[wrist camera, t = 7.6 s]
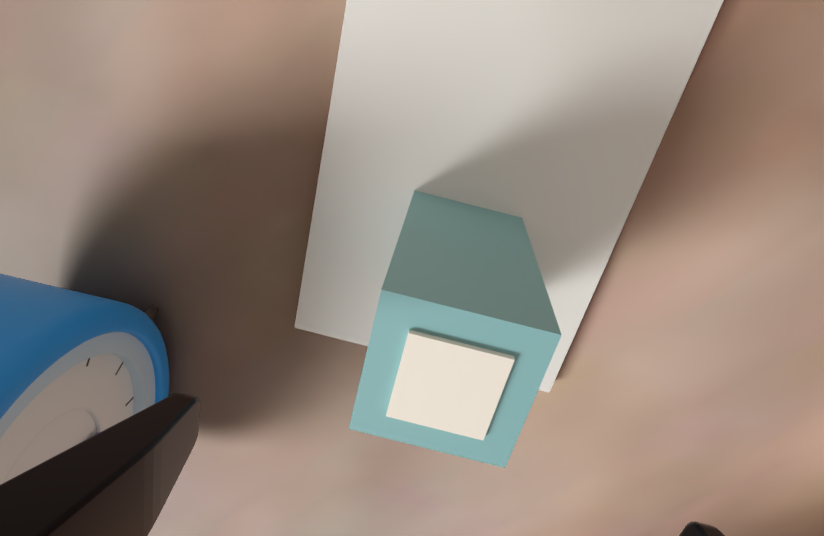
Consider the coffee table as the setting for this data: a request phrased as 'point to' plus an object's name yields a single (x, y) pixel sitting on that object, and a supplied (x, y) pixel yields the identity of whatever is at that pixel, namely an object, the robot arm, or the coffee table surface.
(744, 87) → the coffee table surface
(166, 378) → the alarm clock
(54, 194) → the coffee table surface
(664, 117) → the mat
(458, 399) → the block
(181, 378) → the coffee table surface
